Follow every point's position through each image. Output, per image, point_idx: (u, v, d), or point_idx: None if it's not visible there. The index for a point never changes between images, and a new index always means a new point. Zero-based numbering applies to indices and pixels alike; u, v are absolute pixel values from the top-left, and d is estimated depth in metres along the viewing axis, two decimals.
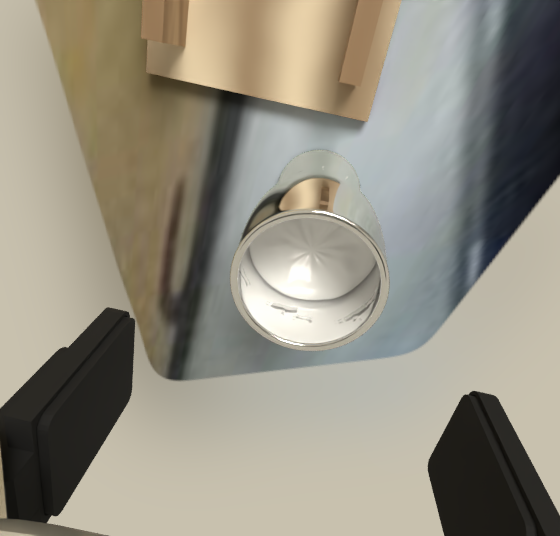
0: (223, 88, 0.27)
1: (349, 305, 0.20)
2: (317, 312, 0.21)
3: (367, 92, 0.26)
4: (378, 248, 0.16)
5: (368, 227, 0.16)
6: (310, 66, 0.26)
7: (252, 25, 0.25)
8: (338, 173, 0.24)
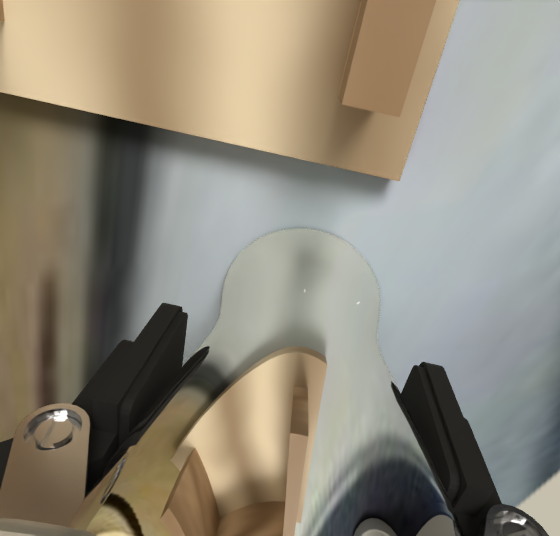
0: (96, 110, 0.13)
1: None
2: None
3: (401, 121, 0.12)
4: None
5: None
6: (276, 64, 0.12)
7: None
8: (339, 313, 0.10)
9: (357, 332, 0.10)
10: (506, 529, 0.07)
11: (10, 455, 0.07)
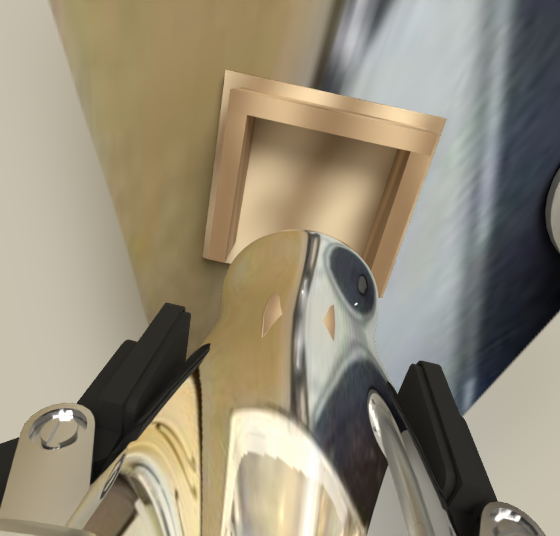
0: None
1: None
2: None
3: None
4: None
5: None
6: None
7: None
8: (337, 314, 0.11)
9: (355, 333, 0.10)
10: (501, 526, 0.07)
11: (16, 454, 0.07)
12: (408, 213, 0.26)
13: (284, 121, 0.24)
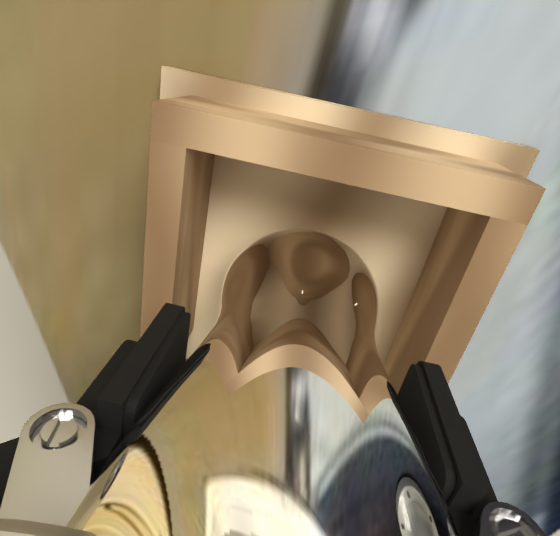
0: None
1: None
2: None
3: None
4: None
5: None
6: None
7: None
8: (337, 314, 0.10)
9: (354, 333, 0.10)
10: (501, 526, 0.07)
11: (16, 454, 0.07)
12: (477, 319, 0.15)
13: (255, 160, 0.13)
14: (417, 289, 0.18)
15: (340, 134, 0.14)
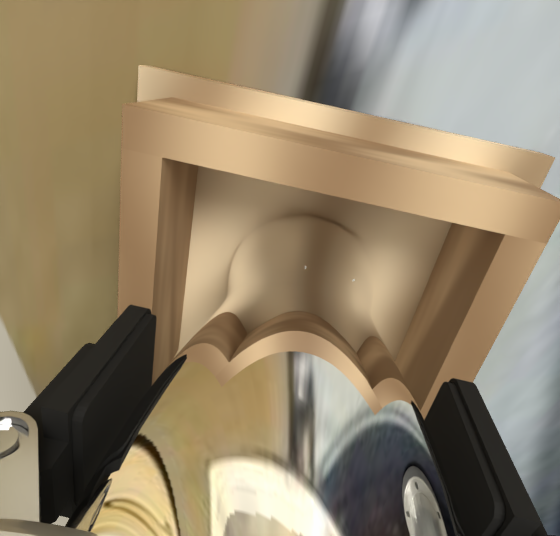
0: None
1: None
2: None
3: None
4: None
5: None
6: None
7: None
8: (336, 286, 0.12)
9: (352, 301, 0.11)
10: None
11: None
12: (489, 346, 0.13)
13: (240, 171, 0.12)
14: (420, 307, 0.17)
15: (336, 141, 0.13)
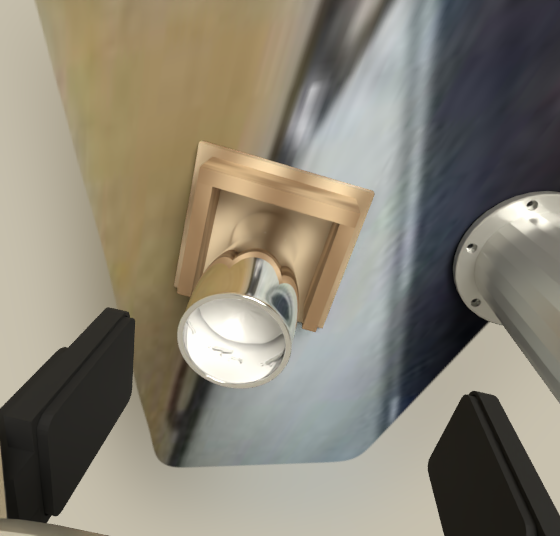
0: None
1: (271, 351, 0.27)
2: (248, 354, 0.27)
3: (322, 312, 0.39)
4: (282, 322, 0.22)
5: (278, 304, 0.23)
6: None
7: None
8: (276, 240, 0.31)
9: (280, 245, 0.30)
10: None
11: None
12: (338, 269, 0.32)
13: (242, 194, 0.30)
14: (320, 258, 0.36)
15: (280, 183, 0.32)
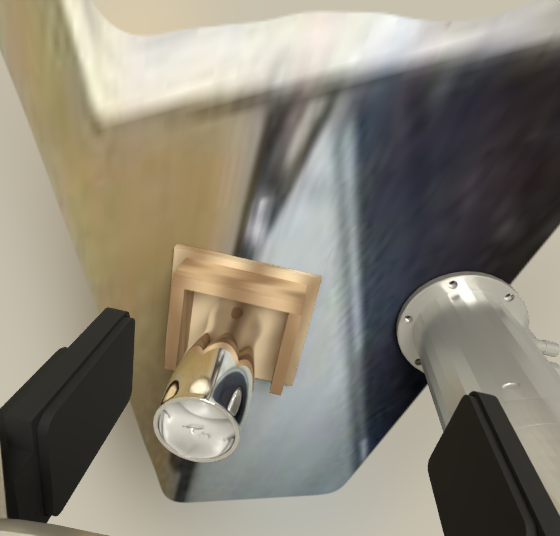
0: None
1: (232, 427, 0.34)
2: (215, 429, 0.34)
3: (290, 373, 0.46)
4: (230, 416, 0.29)
5: (227, 400, 0.30)
6: (258, 360, 0.45)
7: None
8: (238, 328, 0.38)
9: (241, 333, 0.37)
10: None
11: None
12: (292, 346, 0.39)
13: (208, 293, 0.38)
14: (282, 331, 0.43)
15: (241, 279, 0.39)
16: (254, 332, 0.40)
